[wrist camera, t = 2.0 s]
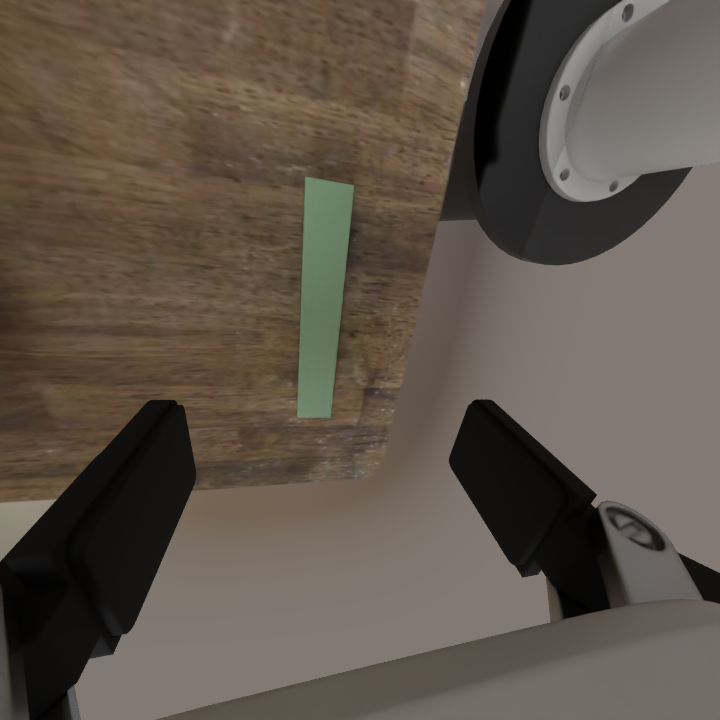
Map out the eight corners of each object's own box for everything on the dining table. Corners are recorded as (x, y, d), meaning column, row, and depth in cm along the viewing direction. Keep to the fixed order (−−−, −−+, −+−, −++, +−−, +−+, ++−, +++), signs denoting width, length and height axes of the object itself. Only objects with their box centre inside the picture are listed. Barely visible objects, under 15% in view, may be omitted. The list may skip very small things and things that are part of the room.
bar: (347, 191, 19) (354, 185, 16) (328, 395, 27) (330, 417, 24) (305, 184, 19) (304, 175, 16) (298, 395, 26) (296, 417, 23)
